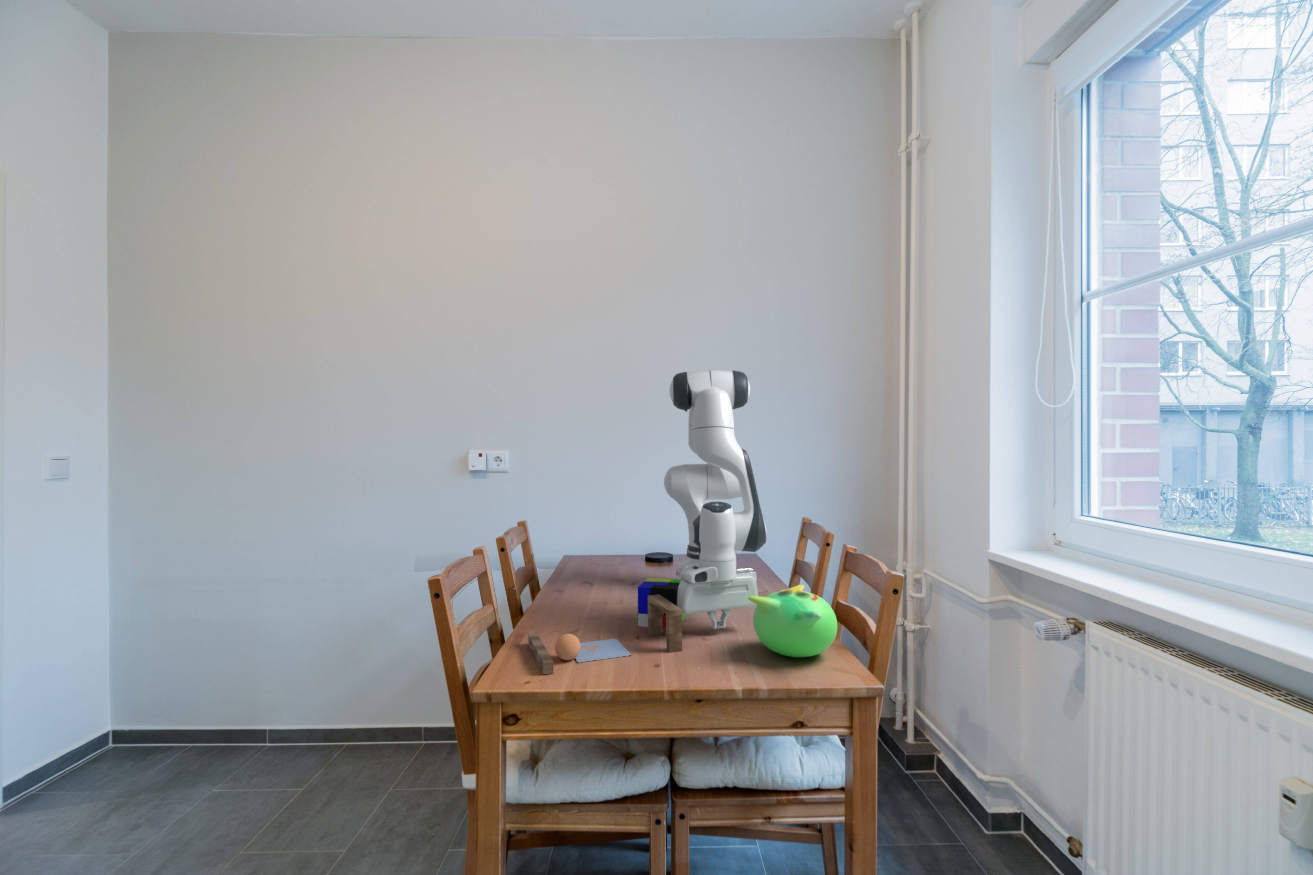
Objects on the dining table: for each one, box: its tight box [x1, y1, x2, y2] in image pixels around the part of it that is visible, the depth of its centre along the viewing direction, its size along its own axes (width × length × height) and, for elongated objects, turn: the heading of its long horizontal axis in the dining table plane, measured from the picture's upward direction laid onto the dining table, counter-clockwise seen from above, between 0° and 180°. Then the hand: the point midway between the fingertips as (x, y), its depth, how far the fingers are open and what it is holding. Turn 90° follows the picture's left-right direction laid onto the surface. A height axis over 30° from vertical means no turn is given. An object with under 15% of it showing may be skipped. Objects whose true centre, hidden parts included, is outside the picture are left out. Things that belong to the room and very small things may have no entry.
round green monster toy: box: [748, 584, 838, 658], centre depth 139 cm, size 18×17×15 cm
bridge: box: [647, 595, 683, 653], centre depth 149 cm, size 3×14×9 cm, turn 20°
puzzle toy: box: [637, 578, 686, 629], centre depth 165 cm, size 10×10×10 cm
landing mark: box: [574, 638, 632, 664], centre depth 143 cm, size 12×12×1 cm
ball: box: [554, 633, 581, 661], centre depth 138 cm, size 6×6×6 cm
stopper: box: [527, 632, 554, 675], centre depth 139 cm, size 20×2×2 cm, turn 20°
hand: (718, 627), depth 154 cm, fingers closed
